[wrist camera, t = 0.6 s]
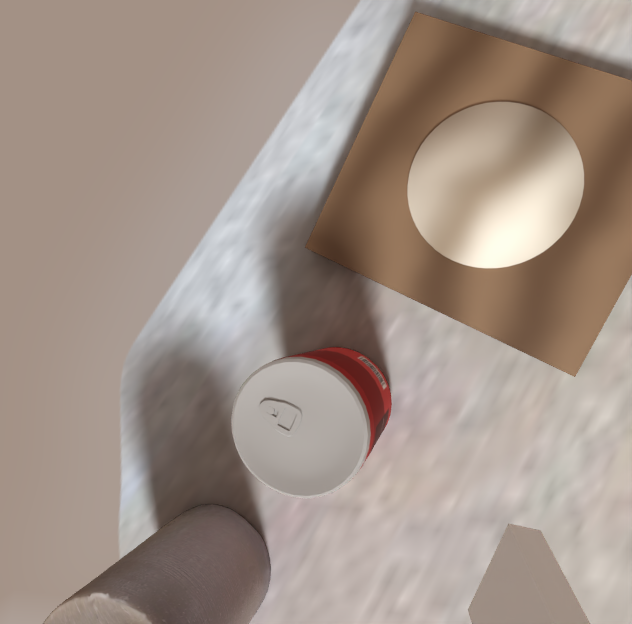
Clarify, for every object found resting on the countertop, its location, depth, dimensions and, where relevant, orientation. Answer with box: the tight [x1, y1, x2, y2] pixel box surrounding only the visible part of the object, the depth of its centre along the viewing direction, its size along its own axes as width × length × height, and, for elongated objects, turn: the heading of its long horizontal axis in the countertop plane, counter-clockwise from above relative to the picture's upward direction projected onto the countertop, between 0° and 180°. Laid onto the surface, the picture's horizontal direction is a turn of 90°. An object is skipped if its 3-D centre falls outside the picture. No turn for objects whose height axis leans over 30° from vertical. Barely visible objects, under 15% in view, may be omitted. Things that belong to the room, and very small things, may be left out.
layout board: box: [305, 12, 632, 377], centre depth 33 cm, size 20×18×2 cm
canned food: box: [231, 347, 392, 498], centre depth 32 cm, size 8×8×11 cm
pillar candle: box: [43, 505, 270, 624], centre depth 32 cm, size 10×10×15 cm
